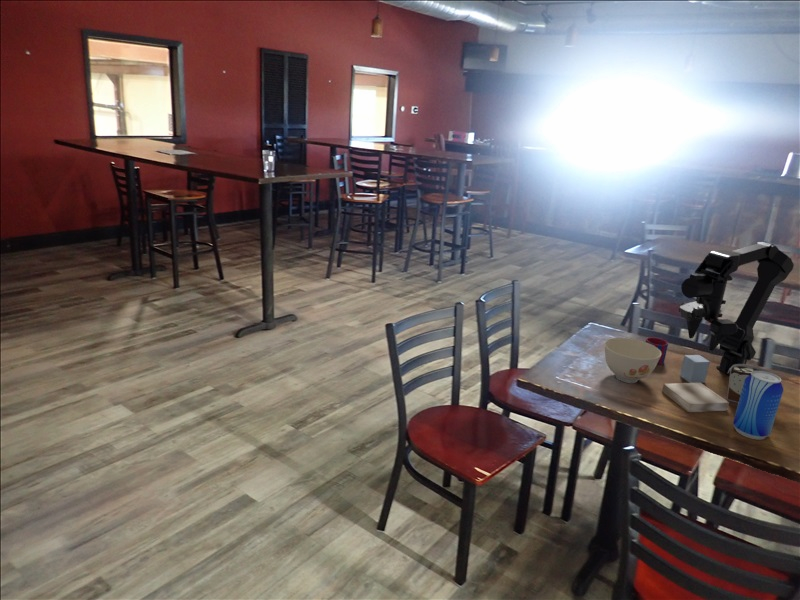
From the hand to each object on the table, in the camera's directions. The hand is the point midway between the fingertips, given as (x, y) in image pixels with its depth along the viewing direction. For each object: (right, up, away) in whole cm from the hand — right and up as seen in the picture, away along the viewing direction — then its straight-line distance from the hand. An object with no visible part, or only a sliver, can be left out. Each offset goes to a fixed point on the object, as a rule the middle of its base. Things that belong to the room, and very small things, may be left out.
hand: (700, 344), depth 175 cm
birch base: (-7, -15, -10) cm, 20 cm away
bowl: (-22, -11, +2) cm, 24 cm away
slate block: (-1, -11, +4) cm, 12 cm away
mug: (-6, -6, +17) cm, 19 cm away
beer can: (0, -21, -25) cm, 33 cm away
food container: (+9, -16, -8) cm, 20 cm away
